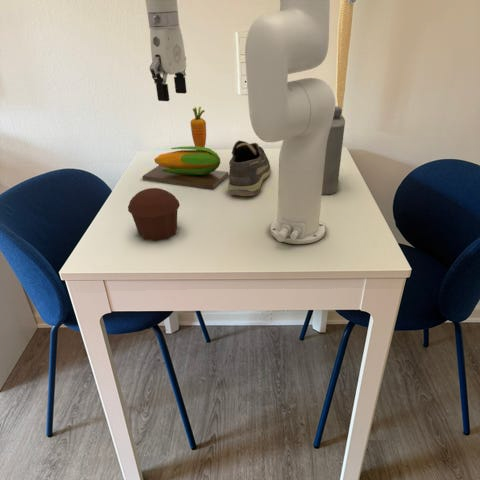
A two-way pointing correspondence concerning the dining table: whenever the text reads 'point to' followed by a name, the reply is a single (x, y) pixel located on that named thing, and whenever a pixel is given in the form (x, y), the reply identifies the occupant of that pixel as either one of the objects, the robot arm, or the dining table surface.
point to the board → (186, 178)
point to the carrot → (198, 128)
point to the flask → (333, 153)
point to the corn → (189, 161)
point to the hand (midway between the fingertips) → (172, 96)
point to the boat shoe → (247, 169)
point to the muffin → (154, 213)
